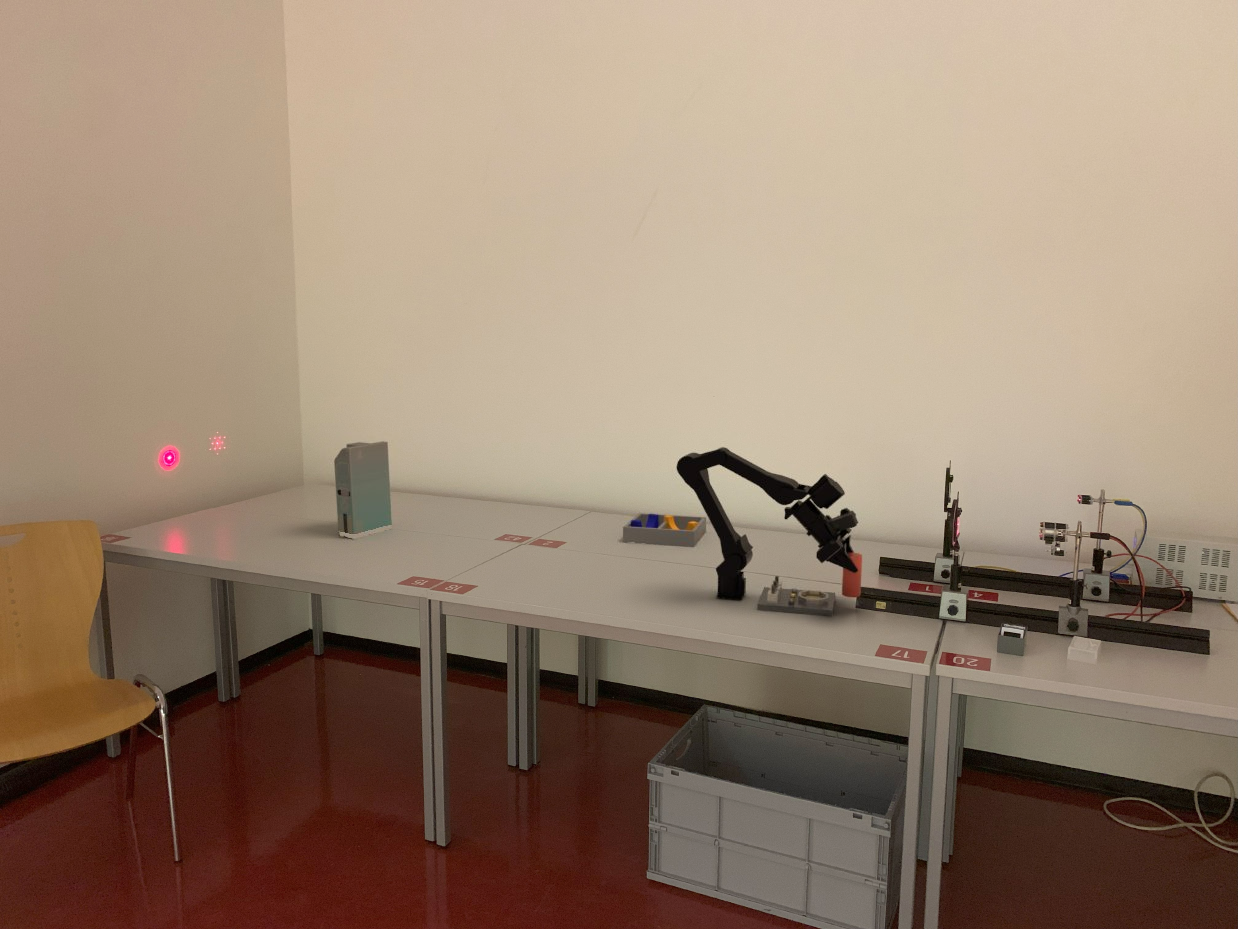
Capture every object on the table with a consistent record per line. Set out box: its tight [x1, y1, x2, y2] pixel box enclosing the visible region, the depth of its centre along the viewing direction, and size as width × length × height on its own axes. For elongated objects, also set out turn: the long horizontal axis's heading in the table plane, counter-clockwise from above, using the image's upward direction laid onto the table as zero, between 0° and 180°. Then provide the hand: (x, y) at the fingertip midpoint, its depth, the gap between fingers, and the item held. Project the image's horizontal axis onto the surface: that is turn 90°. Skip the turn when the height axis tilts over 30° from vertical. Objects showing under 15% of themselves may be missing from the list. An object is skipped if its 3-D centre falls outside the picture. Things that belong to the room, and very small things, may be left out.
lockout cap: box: [841, 552, 863, 598], centre depth 217 cm, size 4×4×10 cm
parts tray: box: [622, 512, 707, 548], centre depth 290 cm, size 23×20×5 cm
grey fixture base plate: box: [756, 575, 836, 617], centre depth 223 cm, size 18×14×6 cm
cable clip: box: [630, 513, 659, 528], centre depth 292 cm, size 12×4×6 cm, turn 146°
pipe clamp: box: [664, 514, 701, 533], centre depth 288 cm, size 12×4×6 cm, turn 47°
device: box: [333, 441, 393, 534], centre depth 295 cm, size 16×8×30 cm, turn 148°
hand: (858, 569), depth 216 cm, fingers closed on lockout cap, 4 cm apart
